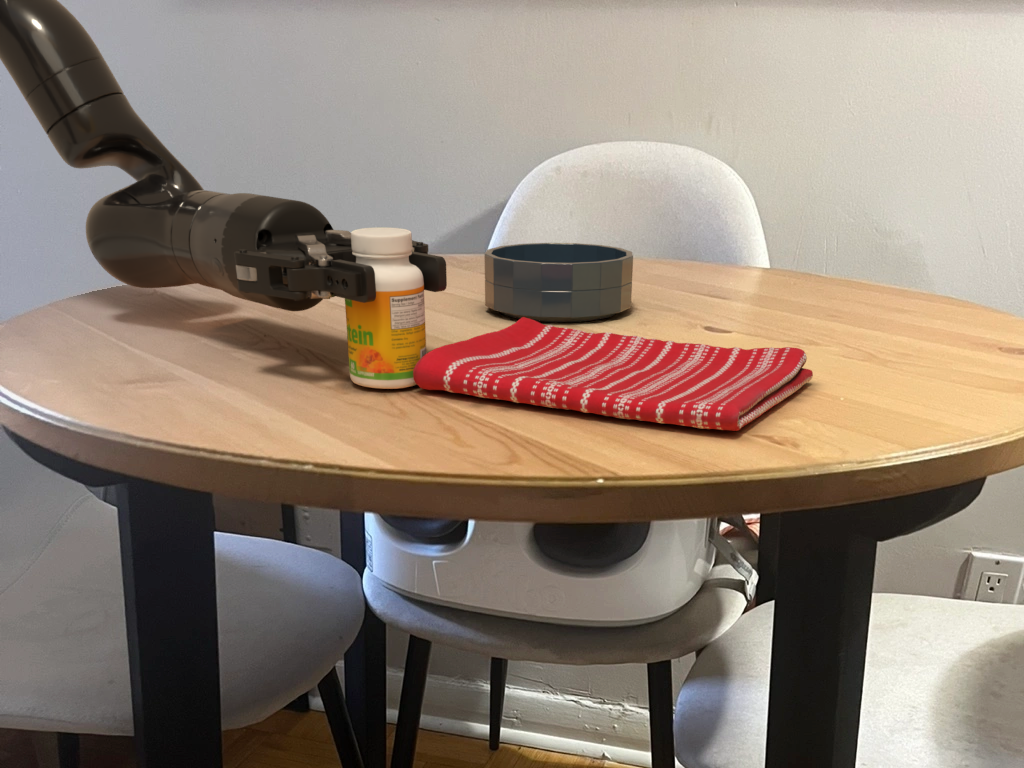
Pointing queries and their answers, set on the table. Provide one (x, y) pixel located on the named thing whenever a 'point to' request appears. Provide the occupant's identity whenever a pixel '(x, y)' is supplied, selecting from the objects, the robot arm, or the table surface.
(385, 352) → the supplement bottle
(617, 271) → the fruit bowl
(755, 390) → the dish towel
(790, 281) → the table surface
